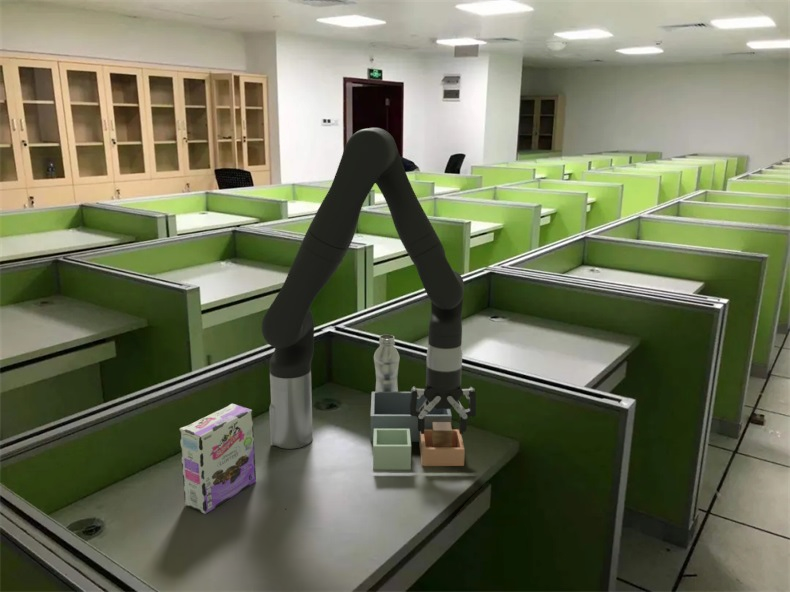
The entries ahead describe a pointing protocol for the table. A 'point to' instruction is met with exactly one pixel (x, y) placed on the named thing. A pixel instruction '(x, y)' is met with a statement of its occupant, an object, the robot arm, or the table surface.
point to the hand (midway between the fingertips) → (441, 432)
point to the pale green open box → (391, 449)
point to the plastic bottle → (386, 365)
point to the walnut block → (441, 434)
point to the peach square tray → (441, 450)
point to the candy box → (217, 457)
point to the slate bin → (402, 413)
